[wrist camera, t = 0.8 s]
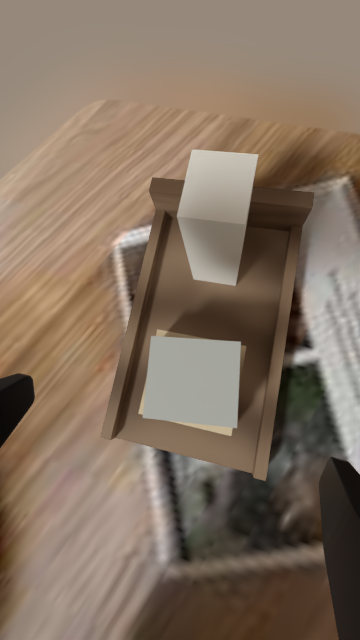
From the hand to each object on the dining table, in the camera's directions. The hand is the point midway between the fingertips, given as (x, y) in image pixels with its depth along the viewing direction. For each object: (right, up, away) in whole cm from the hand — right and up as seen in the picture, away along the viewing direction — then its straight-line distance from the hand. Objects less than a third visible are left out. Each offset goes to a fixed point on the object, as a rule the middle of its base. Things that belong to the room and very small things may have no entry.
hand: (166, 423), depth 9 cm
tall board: (+4, +8, +16) cm, 18 cm away
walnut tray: (+3, +3, +16) cm, 16 cm away
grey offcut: (+1, -1, +12) cm, 12 cm away
